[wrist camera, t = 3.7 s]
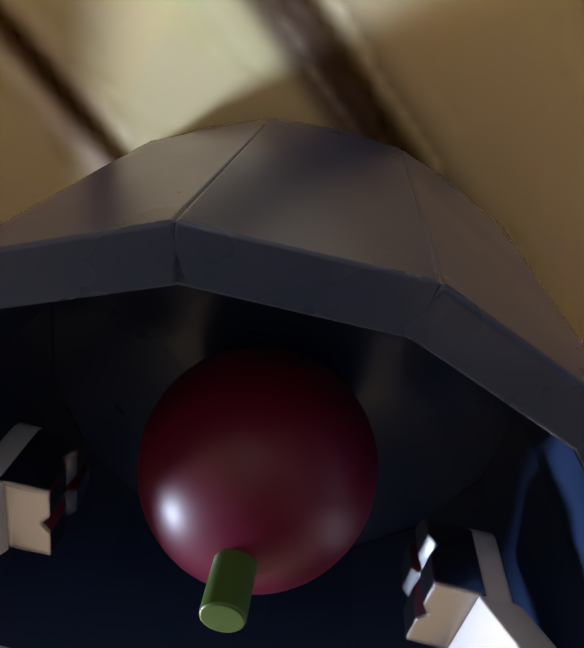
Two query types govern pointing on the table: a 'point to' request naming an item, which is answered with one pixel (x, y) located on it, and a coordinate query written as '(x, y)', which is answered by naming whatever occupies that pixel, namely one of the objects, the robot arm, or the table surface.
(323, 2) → the table surface
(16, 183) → the table surface
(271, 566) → the beet
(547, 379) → the pot
